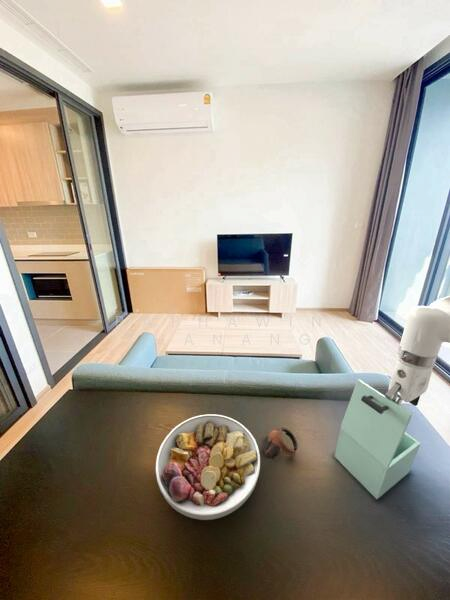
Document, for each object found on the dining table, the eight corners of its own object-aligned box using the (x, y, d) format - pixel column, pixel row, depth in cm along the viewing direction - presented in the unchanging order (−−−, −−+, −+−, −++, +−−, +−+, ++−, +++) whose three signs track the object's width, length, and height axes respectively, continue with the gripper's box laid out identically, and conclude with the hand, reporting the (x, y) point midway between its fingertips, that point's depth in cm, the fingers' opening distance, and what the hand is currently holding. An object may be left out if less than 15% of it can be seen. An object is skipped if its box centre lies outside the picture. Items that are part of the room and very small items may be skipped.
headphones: (268, 433, 85) (283, 419, 81) (289, 458, 80) (305, 445, 77) (251, 451, 75) (266, 437, 72) (273, 481, 71) (290, 467, 67)
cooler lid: (359, 379, 68) (348, 381, 65) (413, 413, 56) (402, 418, 54) (342, 426, 72) (331, 430, 70) (388, 467, 61) (378, 473, 59)
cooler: (365, 436, 83) (373, 409, 79) (409, 472, 72) (420, 443, 68) (334, 456, 76) (340, 428, 72) (376, 499, 65) (387, 469, 61)
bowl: (203, 411, 93) (202, 395, 90) (276, 455, 77) (278, 436, 74) (135, 478, 70) (131, 459, 67) (219, 560, 54) (219, 539, 51)
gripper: (413, 374, 54) (396, 431, 60) (451, 353, 61) (432, 406, 67) (380, 357, 60) (367, 411, 66) (418, 340, 68) (403, 389, 74)
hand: (400, 408), depth 67 cm, fingers open, 9 cm apart
